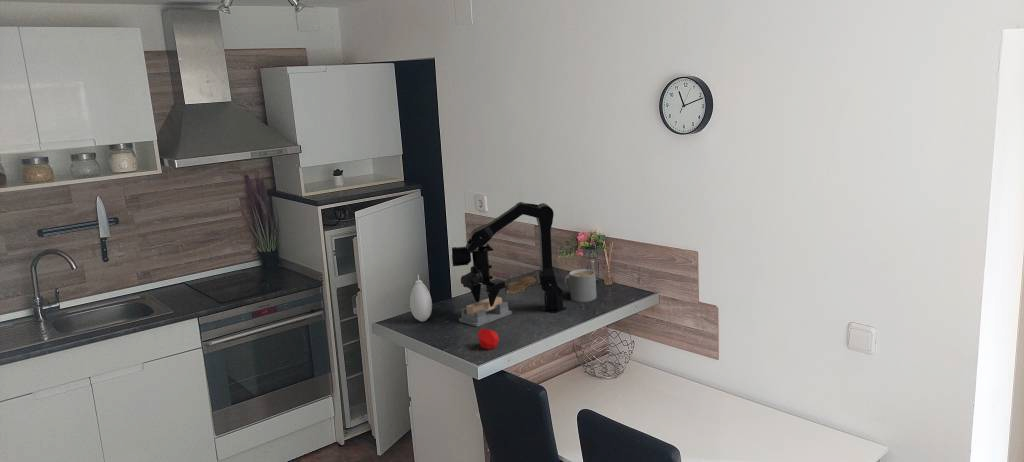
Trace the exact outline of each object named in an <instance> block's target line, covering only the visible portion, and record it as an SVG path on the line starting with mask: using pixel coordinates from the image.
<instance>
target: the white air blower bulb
mask: <svg viewBox="0 0 1024 462" xmlns="http://www.w3.org/2000/svg"><path fill="white" fill-rule="evenodd" d="M414 283H415V284H414V285H413V286H412V290H411V291H410V292H411V293H410V298H409V305H410V311H411V314H412V316H413V317H414V318H415V319H416V320H417V321H419V322H425V321H427V320H428V319H429V318H430V317H431V314H432V311H433V310H432V309H433V301H432V296H431V294H430V291H429V289H428V288H427V286H426V285H425V283H423V280H421V279H420V275H419V274H417V280H415V281H414Z"/></svg>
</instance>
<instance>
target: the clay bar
mask: <svg viewBox="0 0 1024 462" xmlns="http://www.w3.org/2000/svg"><path fill="white" fill-rule="evenodd" d="M500 303H503V297H501V296H497V297H496V299H495V302H494V305H493V306H492V307H490V304H489V297H487V298H486V299H482V300H479V302H476V301H475V302H473V303H471V304H469V305H468V304H467V305H466V306H465V307H466V311H467V314H469V315H472V316H474V313H475V312H478V311H480V310H485V311H489V310H492V309H495V308H497V304H500Z"/></svg>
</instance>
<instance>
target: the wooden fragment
mask: <svg viewBox="0 0 1024 462" xmlns="http://www.w3.org/2000/svg"><path fill="white" fill-rule="evenodd" d="M536 283H537V278H535V277H534V276H533V277H529V276H527V277H524V278H521V279H518V280H514V281H512V282H510V283H508V284H506V295H508V293H509V295H510V293H513V294H518V293H517V292H520V293H524V292H525V291H526V289H528V287H531V286H533V285H535V284H536Z"/></svg>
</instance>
